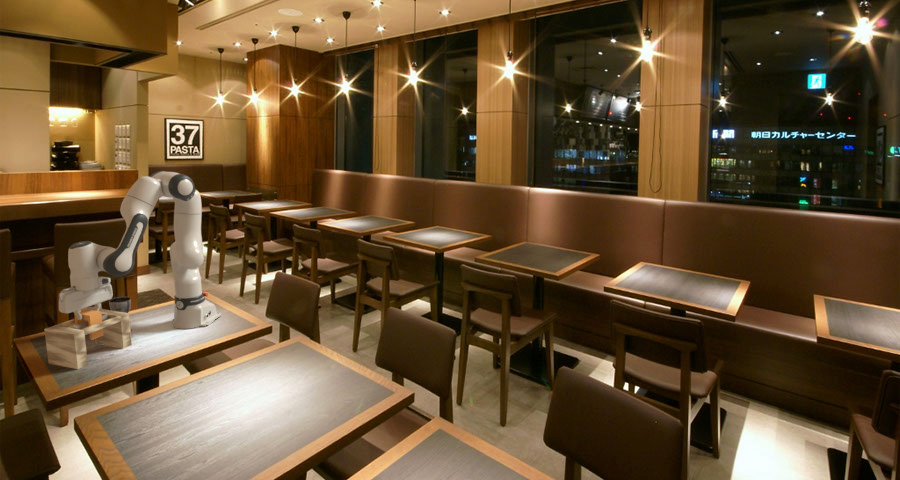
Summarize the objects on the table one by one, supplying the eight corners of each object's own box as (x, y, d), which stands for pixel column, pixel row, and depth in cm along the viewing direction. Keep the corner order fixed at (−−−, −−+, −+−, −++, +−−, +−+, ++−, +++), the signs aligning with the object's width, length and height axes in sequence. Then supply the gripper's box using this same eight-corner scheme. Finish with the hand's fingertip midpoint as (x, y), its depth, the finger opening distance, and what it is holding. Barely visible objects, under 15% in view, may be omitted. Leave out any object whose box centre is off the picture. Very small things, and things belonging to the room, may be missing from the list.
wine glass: (137, 329, 229) (134, 297, 226) (124, 335, 221) (121, 303, 218) (121, 327, 230) (118, 296, 227) (107, 334, 222) (104, 301, 219)
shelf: (104, 340, 216) (101, 309, 213) (131, 344, 213) (129, 313, 210) (48, 363, 193) (44, 329, 190) (77, 369, 190) (74, 334, 187)
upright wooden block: (88, 332, 205) (86, 309, 203) (103, 335, 203) (101, 311, 201) (76, 337, 200) (74, 313, 198) (92, 339, 198) (89, 315, 196)
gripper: (65, 291, 186) (69, 327, 189) (114, 277, 206) (117, 309, 209) (52, 289, 188) (56, 324, 191) (101, 275, 207) (104, 307, 210)
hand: (88, 316), depth 200 cm, fingers closed on upright wooden block, 5 cm apart
